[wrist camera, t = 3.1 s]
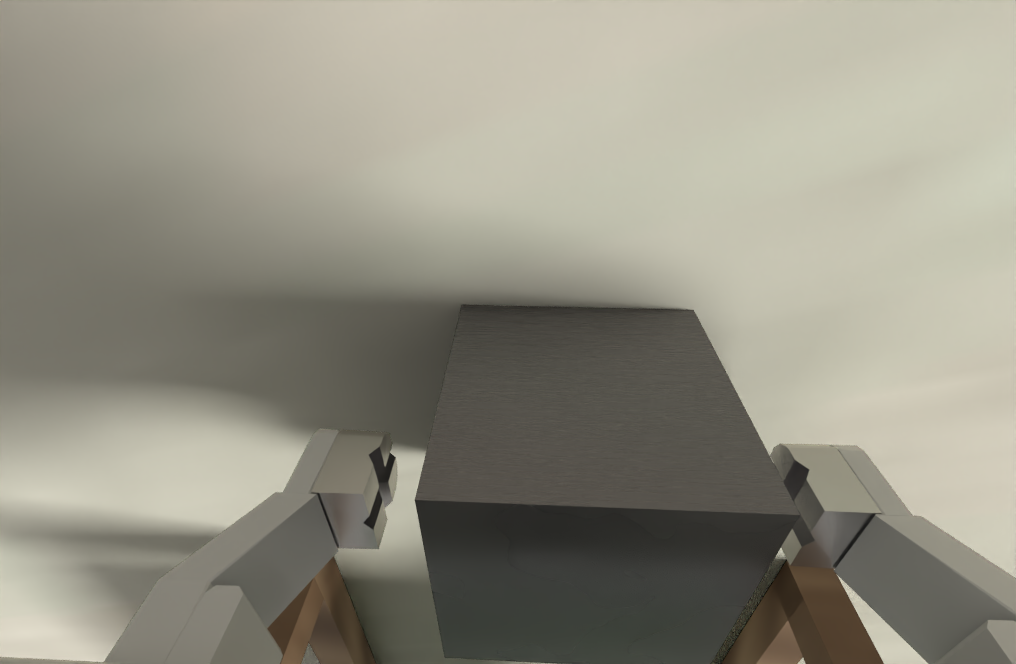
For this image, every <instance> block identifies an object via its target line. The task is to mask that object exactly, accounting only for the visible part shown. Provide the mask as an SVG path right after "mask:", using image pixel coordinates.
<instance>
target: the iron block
mask: <svg viewBox="0 0 1016 664" xmlns="http://www.w3.org/2000/svg"><path fill="white" fill-rule="evenodd" d="M415 503H416V508H417V514H418V519H419V524H420V529H421V535H422V540H423V545H424V551H425V556H426V561H427V567H428V572H429V577H430V582H431V588H432V593H433V598H434V604H435V609H436V614H437V619H438V625H439V630H440V635H441V641H442V646H443V651H444V657H445V658H461V659H480V660H499V661H518V662H538V663H557V664H711V663H712V661H713V659H714V658H715V656H716V654H717V653H718V651H719V649H720V648H721V646H722V644H723V643H724V641H725V639H726V638H727V636H728V634H729V633H730V631H731V629H732V628H733V626H734V624H735V623H736V621H737V619H738V618H739V616H740V614H741V613H742V611H743V609H744V608H745V606H746V604H747V603H748V601H749V599H750V598H751V596H752V594H753V593H754V591H755V589H756V588H757V586H758V584H759V583H760V581H761V579H762V578H763V576H764V575H765V573H766V571H767V570H768V568H769V566H770V565H771V563H772V561H773V560H774V558H775V556H776V555H777V553H778V551H779V550H780V548H781V546H782V545H783V543H784V541H785V540H786V538H787V536H788V535H789V533H790V531H791V530H792V528H793V526H794V525H795V523H796V521H797V520H798V518H799V516H800V513H799V512H798V510H797V508H796V506H795V504H794V502H793V500H792V498H791V496H790V494H789V492H788V490H787V488H786V487H785V485H784V483H783V481H782V479H781V477H780V475H779V473H778V471H777V469H776V467H775V465H774V464H773V462H772V460H771V458H770V456H769V454H768V452H767V450H766V448H765V446H764V444H763V442H762V440H761V439H760V437H759V435H758V433H757V431H756V429H755V427H754V425H753V423H752V421H751V419H750V417H749V415H748V414H747V412H746V410H745V408H744V406H743V404H742V402H741V400H740V398H739V396H738V394H737V392H736V390H735V389H734V387H733V385H732V383H731V381H730V379H729V377H728V375H727V373H726V371H725V369H724V367H723V366H722V364H721V362H720V360H719V358H718V356H717V354H716V352H715V350H714V348H713V346H712V344H711V342H710V341H709V339H708V337H707V335H706V333H705V331H704V329H703V327H702V325H701V323H700V321H699V319H698V317H697V316H696V314H695V312H694V310H670V309H626V308H582V307H538V306H494V305H462V306H461V310H460V315H459V319H458V323H457V327H456V331H455V335H454V339H453V344H452V348H451V352H450V356H449V360H448V364H447V369H446V373H445V377H444V381H443V385H442V389H441V393H440V398H439V402H438V406H437V410H436V414H435V418H434V423H433V427H432V431H431V435H430V439H429V443H428V448H427V452H426V456H425V460H424V464H423V468H422V472H421V477H420V481H419V485H418V489H417V493H416V497H415Z"/></svg>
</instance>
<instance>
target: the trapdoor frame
mask: <svg viewBox="0 0 1016 664" xmlns="http://www.w3.org/2000/svg"><path fill="white" fill-rule="evenodd" d="M267 629H268V631H269V632H270V634H271V635H272V637H273V638H274V640H275V641H276V643H277V644H278V646H279V647H280V649H281V652H282V654H283V657H282V660H281V662H280V664H301V662H302V660H303V657H304V654H305V651H306V648H307V645H308V643H309V644H310V646H311V648H312V649H313V651H314V653H315V655H316V656H317V658H318V660H319V662H320V664H376V663H375V660H374V658H373V655H372V652H371V650H370V647H369V645H368V642H367V640H366V637H365V635H364V632H363V630H362V627H361V625H360V622H359V619H358V617H357V614H356V612H355V609H354V607H353V604H352V602H351V599H350V597H349V594H348V592H347V589H346V586H345V584H344V581H343V579H342V576H341V574H340V571H339V569H338V566H337V564H336V561H335V559H334V556H333V557H332V558H331V559H330V560H329V562H328V563H327V564H326V565H325V566H324V567H323V568H322V569H321V570H320V571H319V572H318V574H317V575H316V576H315V577H314V578H313V579H312V580H311V581H310V582H309V583H308V584H307V586H306V587H305V588H304V589H303V590H302V591H301V592H300V593H299V594H298V595H297V596H296V598H295V599H294V600H293V601H292V602H291V603H290V604H289V605H288V606H287V607H286V608H285V610H284V611H283V612H282V613H281V614H280V615H279V616H278V617H277V618H276V619H275V620H274V622H273V623H272V624H271V625H270V626H269V627H268V628H267ZM802 657H803V658H804V661H805V663H806V664H884V663H883V661H882V659H881V657H880V655H879V654H878V652H877V650H876V648H875V646H874V644H873V642H872V640H871V638H870V637H869V635H868V633H867V631H866V629H865V627H864V625H863V623H862V622H861V620H860V618H859V616H858V614H857V612H856V610H855V608H854V606H853V605H852V603H851V601H850V599H849V597H848V595H847V593H846V591H845V590H844V588H843V586H842V584H841V582H840V580H839V578H838V576H837V574H836V573H835V572H834V569H830V568H815V567H800V566H790V565H789V563H788V561H786V562H785V564H784V565H783V567H782V569H781V570H780V572H779V573H778V575H777V576H776V578H775V580H774V581H773V583H772V584H771V586H770V588H769V589H768V591H767V592H766V594H765V595H764V597H763V599H762V600H761V602H760V603H759V605H758V606H757V608H756V610H755V611H754V613H753V614H752V616H751V618H750V619H749V621H748V622H747V624H746V625H745V627H744V629H743V630H742V632H741V633H740V635H739V636H738V638H737V640H736V641H735V643H734V644H733V646H732V647H731V649H730V651H729V652H728V654H727V655H726V657H725V659H724V660H723V662H722V663H721V664H797V663H798V662H799V661H800V660H801V659H802Z"/></svg>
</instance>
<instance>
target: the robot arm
mask: <svg viewBox="0 0 1016 664" xmlns="http://www.w3.org/2000/svg"><path fill="white" fill-rule="evenodd" d="M392 444H393V443H392V439H391V435H390V433H388V432H379V431H361V430H344V429H342V430H338V429H318V430H317V431H316V432H315V433H314V434H313V435H312V437H311V439H310V441H309V443H308V445H307V447H306V449H305V451H304V452H303V454H302V456H301V458H300V460H299V462H298V464H297V466H296V468H295V470H294V472H293V474H292V476H291V477H290V479H289V481H288V483H287V485H286V487H285V489H284V491H283V492H275V493H274V494H273V495H271V496H270V497H269V498H267V499H266V500H265V501H263V502H262V503H261V504H259V505H258V506H257V507H255V508H254V509H253V510H251V511H250V512H249V513H247V514H246V515H244V516H243V517H242V518H240V519H239V520H238V521H236V522H235V523H234V524H232V525H231V526H230V527H228V528H227V529H226V530H224V531H223V532H222V533H220V534H219V535H218V536H216V537H215V538H214V539H212V540H211V541H210V542H208V543H207V544H205V545H204V546H203V547H201V548H200V549H199V550H197V551H196V552H195V553H193V554H192V555H191V556H189V557H188V558H187V559H185V560H184V561H183V562H181V563H180V564H179V565H177V566H176V567H175V568H173V569H172V570H171V571H169V572H168V573H166V574H165V575H164V576H162V577H161V578H160V579H158V581H157V582H156V584H155V585H154V587H153V588H152V590H151V591H150V593H149V594H148V596H147V597H146V599H145V600H144V602H143V603H142V605H141V606H140V608H139V609H138V611H137V612H136V614H135V615H134V617H133V618H132V620H131V622H130V623H129V625H128V626H127V628H126V629H125V631H124V632H123V634H122V635H121V637H120V638H119V640H118V641H117V643H116V644H115V646H114V647H113V649H112V650H111V652H110V653H109V655H108V656H107V658H106V659H105V661H104V662H90V661H71V660H51V659H32V658H12V657H0V664H280V662H281V660H282V657H283V654H282V652H281V649H280V647H279V646H278V644H277V643H276V641H275V640H274V638H273V637H272V635H271V634H270V632H269V631H268V629H267V628H268V627H269V626H270V625H271V624H272V623H273V622H274V620H275V619H276V618H277V617H278V616H279V615H280V614H281V613H282V612H283V611H284V610H285V608H286V607H287V606H288V605H289V604H290V603H291V602H292V601H293V600H294V599H295V598H296V596H297V595H298V594H299V593H300V592H301V591H302V590H303V589H304V588H305V587H306V586H307V584H308V583H309V582H310V581H311V580H312V579H313V578H314V577H315V576H316V575H317V574H318V572H319V571H320V570H321V569H322V568H323V567H324V566H325V565H326V564H327V563H328V562H329V560H330V559H331V558H332V557H333V556H334V555H335V554H336V553H337V552H338V548H355V549H379V546H380V543H381V539H382V536H383V533H384V529H385V526H386V522H387V516H386V512H385V507H386V506H388V505H389V504H390V503H391V502H392V501H393V498H394V494H395V490H396V483H397V462H396V457H394V456H393V455H392V454H391V453H390V451H391V447H392ZM770 457H771V458H772V460H773V462H774V463H773V464H774V465H775V467H776V469H777V471H778V473H779V475H780V477H781V479H782V481H783V483H784V485H785V487H786V488H787V490H788V492H789V494H790V496H791V498H792V500H793V502H794V504H795V506H796V508H797V510H798V512H799V513H800V516H799V518H798V520H797V521H796V523H795V525H794V526H793V528H792V530H791V531H790V533H789V535H788V536H787V538H786V540H785V541H784V543H783V545H782V546H781V548H782V550H783V552H784V554H785V556H786V559H787V561H788V563H789V565H790V566H800V567H815V568H830V569H835V570H834V572H835V573H836V574H837V575H838V576H839V577H840V578H841V579H842V580H843V581H844V582H845V583H846V584H847V585H849V586H850V587H851V588H852V589H853V590H854V591H855V592H856V593H857V594H858V595H859V596H860V597H861V598H862V599H863V600H864V601H865V602H866V603H867V604H868V605H869V606H870V607H871V608H872V609H873V610H874V611H875V612H876V613H877V614H878V615H879V616H880V617H881V618H882V619H883V620H884V621H885V622H886V623H888V624H889V625H890V626H891V627H892V628H893V629H894V630H895V631H896V632H897V633H898V634H899V635H900V636H901V637H902V638H903V639H904V640H905V641H906V642H907V643H908V644H909V645H910V646H911V647H912V648H913V649H914V650H915V651H916V652H917V653H918V654H919V655H920V656H921V657H922V658H923V659H924V660H925V661H926V662H928V663H929V664H1016V578H1015V577H1013V576H1012V575H1010V574H1009V573H1007V572H1005V571H1004V570H1002V569H1001V568H999V567H998V566H996V565H995V564H993V563H992V562H990V561H989V560H987V559H986V558H984V557H983V556H981V555H980V554H978V553H976V552H975V551H973V550H972V549H970V548H969V547H967V546H966V545H964V544H963V543H961V542H960V541H958V540H957V539H955V538H954V537H952V536H951V535H949V534H947V533H946V532H944V531H943V530H941V529H940V528H938V527H937V526H935V525H934V524H932V523H931V522H929V521H928V520H926V519H925V518H923V517H922V516H913V515H912V514H911V513H910V511H909V510H908V509H907V507H906V506H905V505H904V503H903V502H902V501H901V499H900V498H899V497H898V495H897V494H896V493H895V491H894V490H893V489H892V487H891V486H890V485H889V483H888V482H887V481H886V479H885V478H884V477H883V475H882V474H881V473H880V471H879V470H878V469H877V467H876V466H875V465H874V463H873V462H872V461H871V459H870V458H869V457H868V455H867V454H866V453H865V451H864V450H862V449H861V448H859V447H858V446H851V445H822V444H779V445H777V446H776V447H774V449H773V451H772V453H771V455H770Z"/></svg>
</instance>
